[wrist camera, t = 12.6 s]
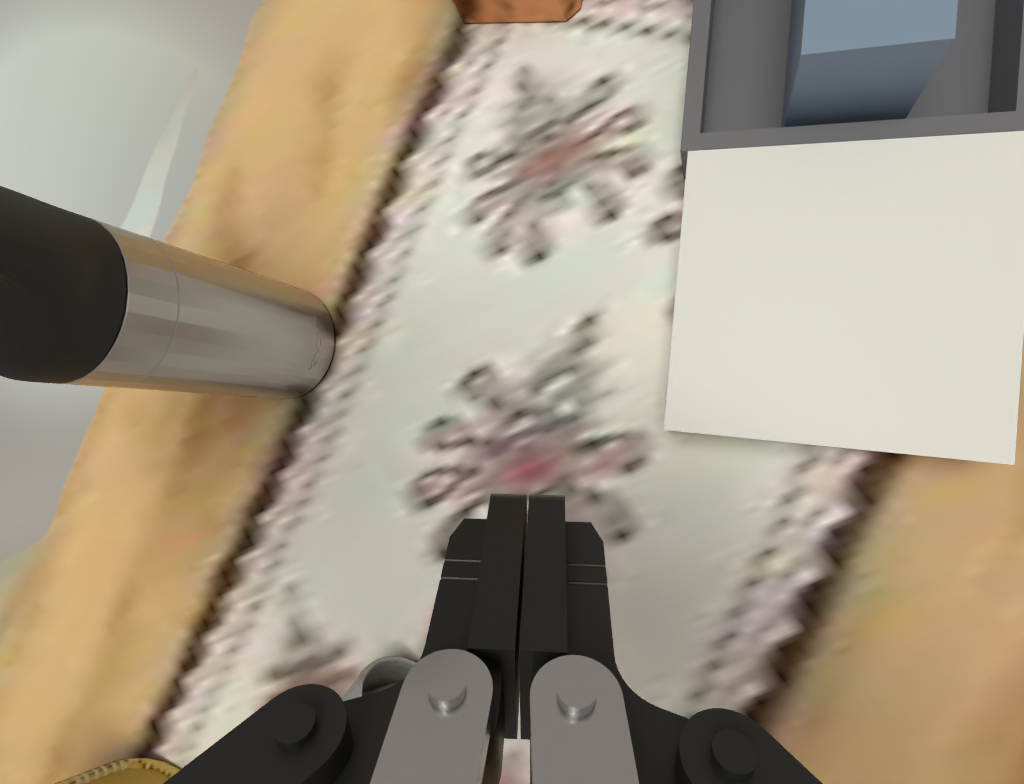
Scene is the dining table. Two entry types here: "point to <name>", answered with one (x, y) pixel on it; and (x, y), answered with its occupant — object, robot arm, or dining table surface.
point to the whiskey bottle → (515, 10)
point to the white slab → (854, 295)
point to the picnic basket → (126, 773)
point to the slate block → (862, 58)
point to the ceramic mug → (380, 676)
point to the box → (937, 112)
